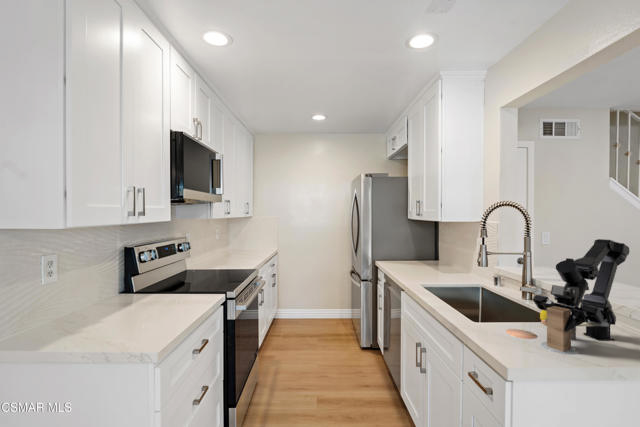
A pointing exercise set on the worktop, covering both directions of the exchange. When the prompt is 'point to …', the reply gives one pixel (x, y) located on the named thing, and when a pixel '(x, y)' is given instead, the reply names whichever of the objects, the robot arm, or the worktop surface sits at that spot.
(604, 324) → the balance
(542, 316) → the lemon
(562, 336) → the walnut block
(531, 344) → the worktop surface
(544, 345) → the slate dish
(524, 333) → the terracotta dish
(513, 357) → the worktop surface
